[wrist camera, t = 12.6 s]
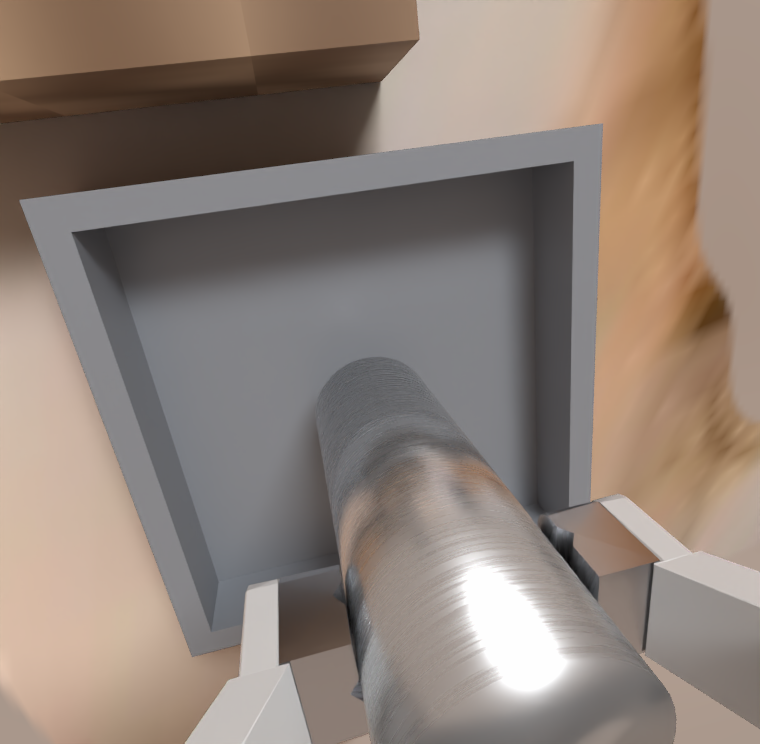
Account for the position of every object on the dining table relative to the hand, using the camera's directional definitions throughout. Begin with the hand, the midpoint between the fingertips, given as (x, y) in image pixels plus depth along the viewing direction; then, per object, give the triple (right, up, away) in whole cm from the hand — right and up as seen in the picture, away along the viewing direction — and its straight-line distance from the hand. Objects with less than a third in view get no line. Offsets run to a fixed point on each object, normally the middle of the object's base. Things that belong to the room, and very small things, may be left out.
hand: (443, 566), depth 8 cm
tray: (-2, +3, +8) cm, 9 cm away
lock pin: (-1, +2, +6) cm, 7 cm away
